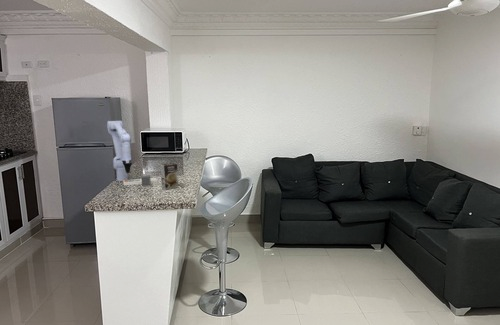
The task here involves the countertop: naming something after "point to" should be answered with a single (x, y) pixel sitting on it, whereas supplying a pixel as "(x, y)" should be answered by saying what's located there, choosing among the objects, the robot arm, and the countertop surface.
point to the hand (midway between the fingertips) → (127, 171)
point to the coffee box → (169, 176)
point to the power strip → (137, 181)
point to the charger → (146, 180)
